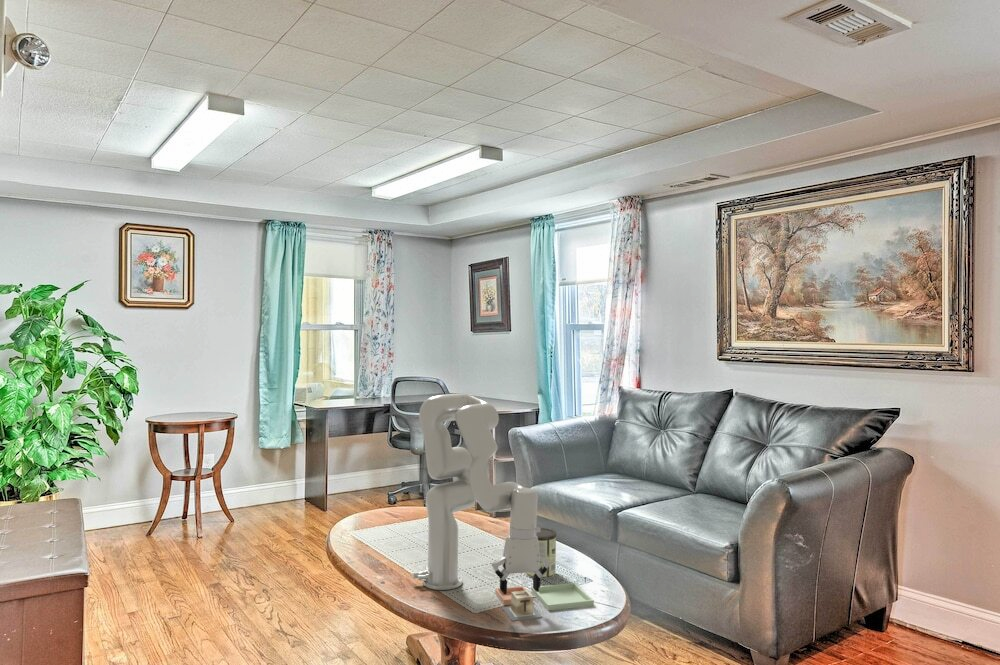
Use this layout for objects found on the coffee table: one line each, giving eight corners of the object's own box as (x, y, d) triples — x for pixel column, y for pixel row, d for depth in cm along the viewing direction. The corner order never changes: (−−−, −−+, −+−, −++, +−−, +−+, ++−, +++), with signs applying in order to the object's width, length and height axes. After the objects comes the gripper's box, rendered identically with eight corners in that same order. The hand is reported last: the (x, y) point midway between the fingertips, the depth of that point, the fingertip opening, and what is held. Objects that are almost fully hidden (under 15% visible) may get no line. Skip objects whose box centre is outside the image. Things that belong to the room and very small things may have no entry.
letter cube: (516, 616, 196) (516, 598, 196) (510, 609, 201) (511, 591, 201) (533, 614, 198) (533, 596, 198) (527, 607, 203) (527, 589, 203)
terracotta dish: (503, 606, 205) (503, 600, 205) (495, 595, 213) (495, 588, 213) (532, 603, 207) (532, 597, 207) (523, 592, 216) (523, 586, 216)
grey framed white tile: (511, 622, 194) (511, 619, 194) (502, 609, 202) (502, 607, 202) (542, 619, 196) (542, 616, 196) (531, 606, 205) (531, 604, 205)
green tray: (547, 612, 202) (547, 605, 201) (531, 593, 215) (531, 586, 215) (593, 607, 206) (593, 600, 206) (574, 589, 219) (574, 582, 219)
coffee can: (525, 568, 237) (526, 527, 237) (555, 570, 236) (556, 528, 236) (523, 579, 227) (524, 536, 227) (555, 581, 226) (556, 537, 226)
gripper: (546, 526, 205) (543, 583, 206) (490, 529, 201) (487, 588, 201) (555, 535, 198) (552, 594, 199) (497, 538, 193) (494, 598, 194)
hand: (519, 591), depth 200 cm, fingers open, 9 cm apart
